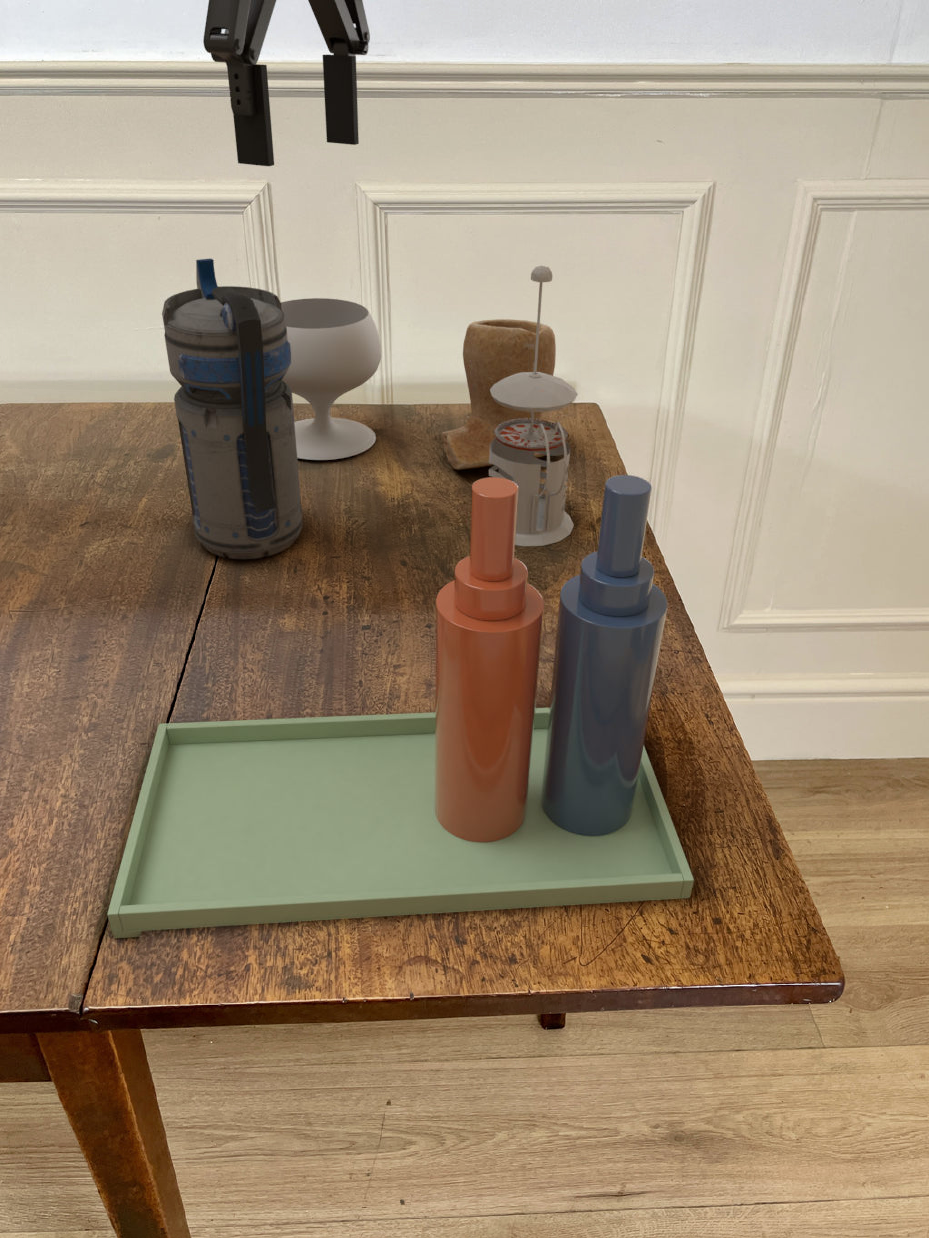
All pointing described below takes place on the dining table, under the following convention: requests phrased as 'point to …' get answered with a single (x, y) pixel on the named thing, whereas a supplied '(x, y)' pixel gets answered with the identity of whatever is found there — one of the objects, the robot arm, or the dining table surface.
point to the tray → (356, 832)
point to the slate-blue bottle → (604, 671)
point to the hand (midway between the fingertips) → (302, 153)
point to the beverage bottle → (235, 415)
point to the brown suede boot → (486, 362)
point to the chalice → (329, 371)
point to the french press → (534, 447)
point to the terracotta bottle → (486, 676)
